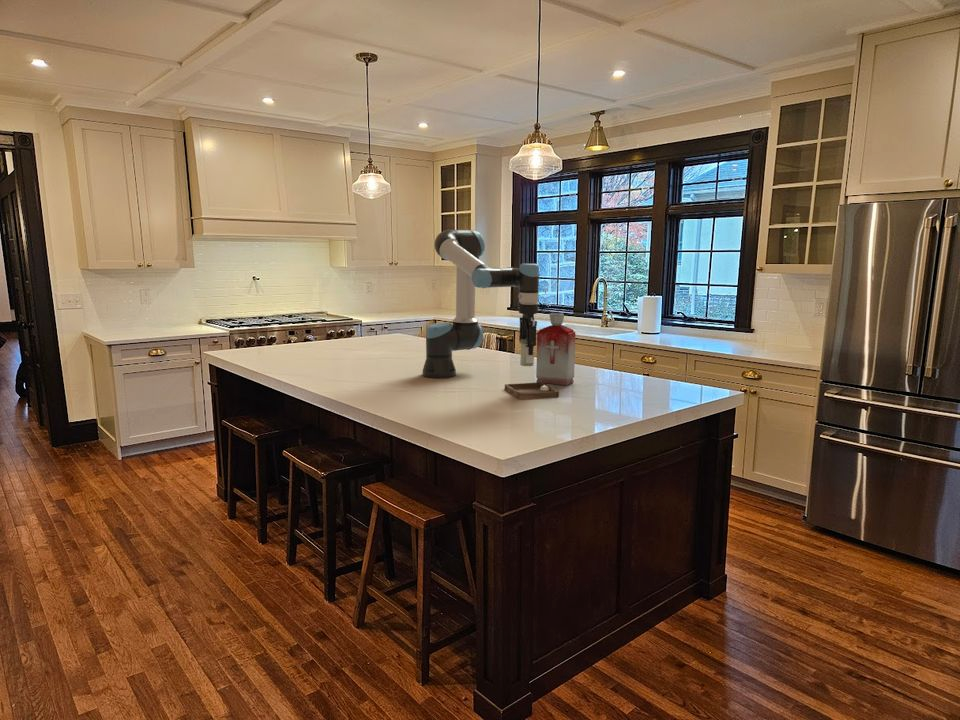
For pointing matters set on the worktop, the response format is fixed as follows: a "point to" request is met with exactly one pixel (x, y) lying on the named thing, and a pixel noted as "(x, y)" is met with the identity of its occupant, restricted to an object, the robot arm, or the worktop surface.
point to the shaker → (524, 353)
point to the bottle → (555, 353)
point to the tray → (530, 390)
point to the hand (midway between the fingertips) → (527, 361)
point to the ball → (544, 389)
